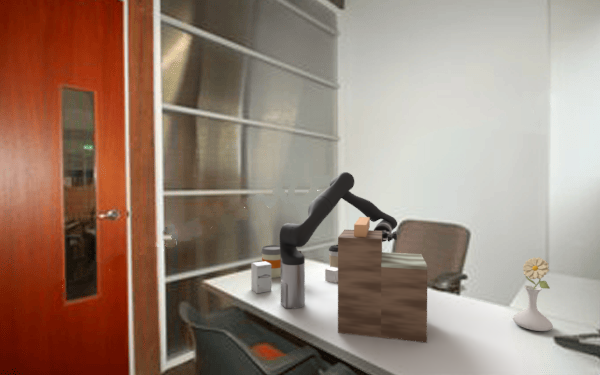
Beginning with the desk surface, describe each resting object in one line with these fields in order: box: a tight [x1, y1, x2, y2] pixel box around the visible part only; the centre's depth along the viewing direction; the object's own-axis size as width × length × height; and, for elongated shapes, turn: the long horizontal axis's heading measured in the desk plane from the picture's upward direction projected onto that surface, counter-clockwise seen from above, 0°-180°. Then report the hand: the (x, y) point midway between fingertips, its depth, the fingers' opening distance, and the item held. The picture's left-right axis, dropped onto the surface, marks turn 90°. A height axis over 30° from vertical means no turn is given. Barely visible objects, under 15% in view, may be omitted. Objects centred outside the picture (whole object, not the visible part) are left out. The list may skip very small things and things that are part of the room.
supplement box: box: [250, 261, 272, 294], centre depth 155 cm, size 7×7×13 cm
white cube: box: [324, 266, 338, 284], centre depth 171 cm, size 6×6×6 cm
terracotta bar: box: [353, 216, 371, 237], centre depth 124 cm, size 24×4×4 cm, turn 166°
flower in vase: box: [512, 256, 554, 332], centre depth 115 cm, size 13×11×25 cm
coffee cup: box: [328, 244, 338, 268], centre depth 185 cm, size 9×9×15 cm
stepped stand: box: [337, 229, 428, 344], centre depth 117 cm, size 18×28×32 cm, turn 76°
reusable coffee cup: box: [261, 244, 281, 279], centre depth 180 cm, size 13×13×15 cm
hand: (378, 239), depth 139 cm, fingers open, 8 cm apart
